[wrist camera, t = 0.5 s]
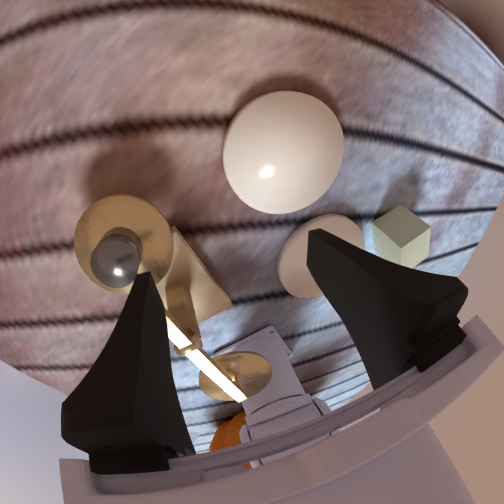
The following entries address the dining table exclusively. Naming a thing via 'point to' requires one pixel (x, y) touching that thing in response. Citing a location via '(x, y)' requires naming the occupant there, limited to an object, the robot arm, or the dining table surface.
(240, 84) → the dining table surface
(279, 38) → the dining table surface
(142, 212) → the balance beam
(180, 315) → the balance stand
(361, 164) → the dining table surface
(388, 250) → the block
